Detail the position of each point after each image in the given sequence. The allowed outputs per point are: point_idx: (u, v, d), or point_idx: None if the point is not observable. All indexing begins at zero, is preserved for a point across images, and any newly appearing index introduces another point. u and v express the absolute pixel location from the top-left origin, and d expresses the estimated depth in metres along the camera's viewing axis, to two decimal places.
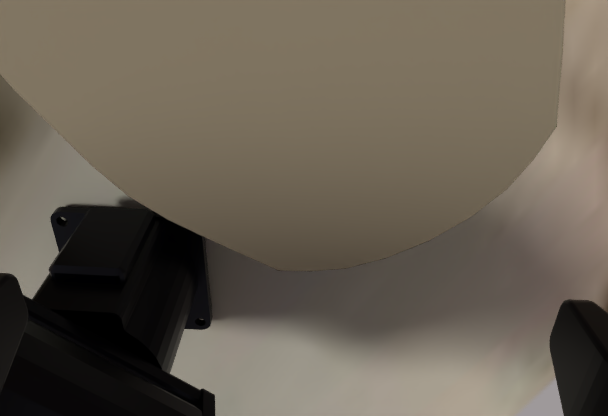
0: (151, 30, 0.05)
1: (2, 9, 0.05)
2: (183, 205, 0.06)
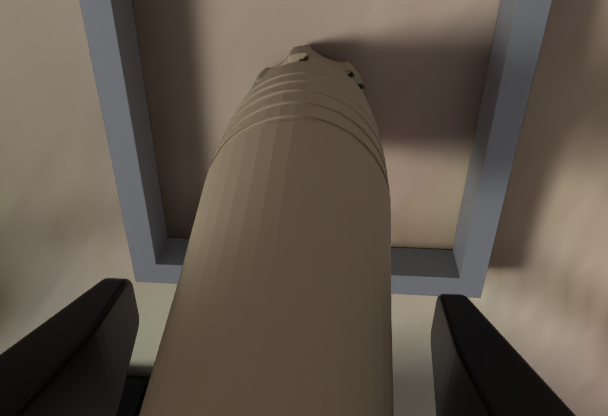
0: None
1: None
2: None
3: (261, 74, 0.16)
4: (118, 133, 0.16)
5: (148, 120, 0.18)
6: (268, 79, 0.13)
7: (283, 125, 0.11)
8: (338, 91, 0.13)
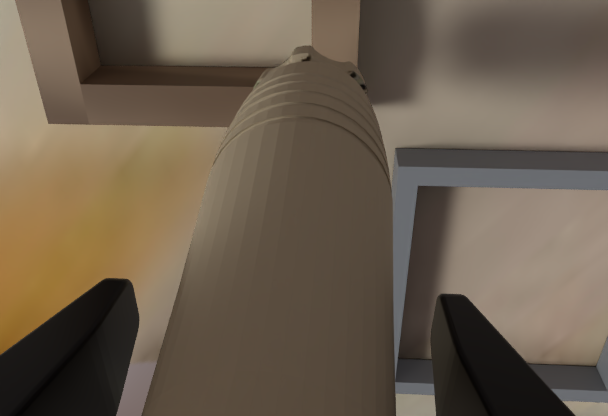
0: None
1: None
2: None
3: (263, 74, 0.16)
4: None
5: None
6: (270, 79, 0.13)
7: (286, 125, 0.11)
8: (340, 91, 0.13)
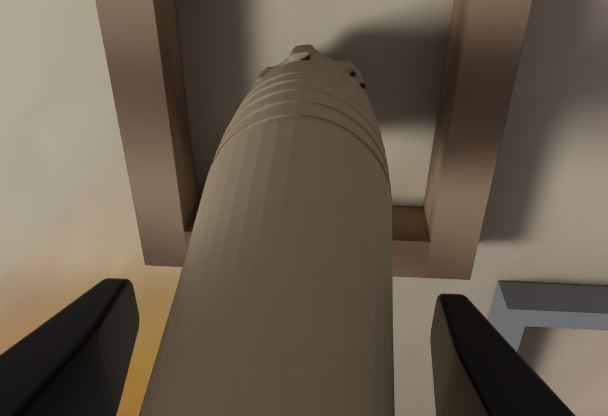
0: None
1: None
2: None
3: (262, 73, 0.16)
4: None
5: None
6: (269, 78, 0.13)
7: (285, 124, 0.11)
8: (340, 90, 0.13)
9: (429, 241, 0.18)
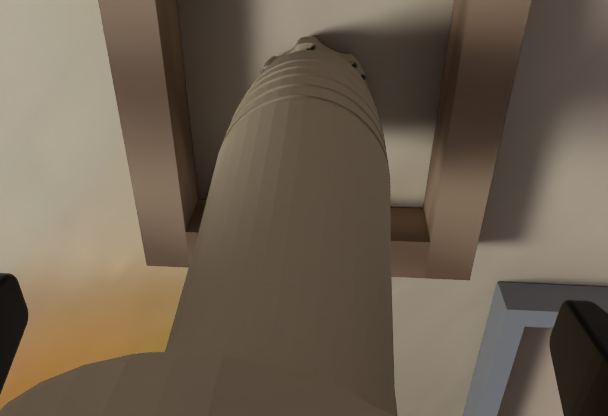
0: None
1: None
2: None
3: (269, 61, 0.16)
4: None
5: None
6: (278, 64, 0.14)
7: (296, 104, 0.12)
8: (344, 78, 0.14)
9: (429, 242, 0.18)
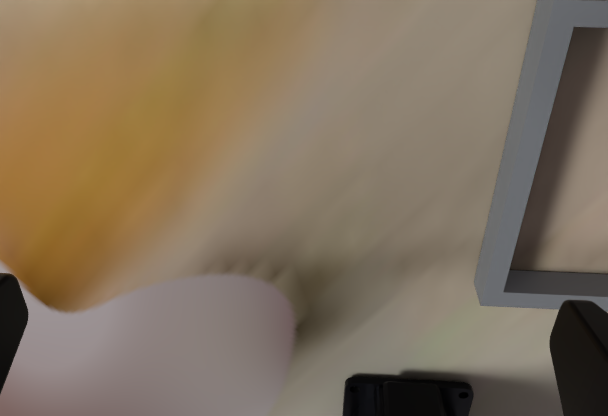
0: None
1: None
2: None
3: None
4: (517, 195, 0.21)
5: None
6: None
7: None
8: None
9: None
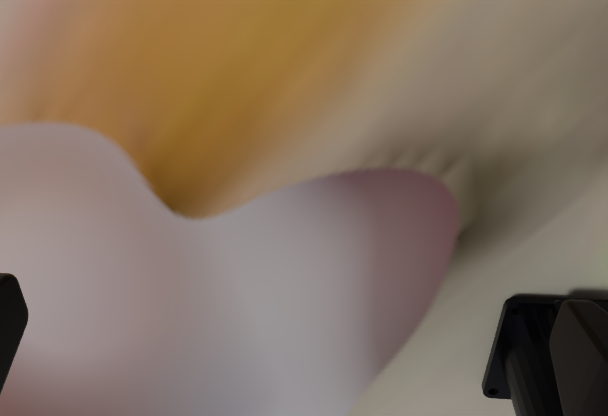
0: None
1: None
2: None
3: None
4: None
5: None
6: None
7: None
8: None
9: None
